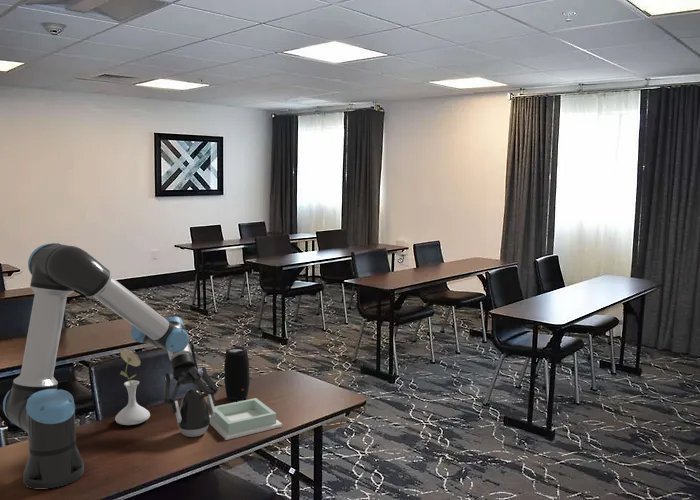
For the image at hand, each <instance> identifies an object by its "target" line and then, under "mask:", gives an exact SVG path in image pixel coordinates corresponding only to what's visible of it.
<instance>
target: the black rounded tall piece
mask: <svg viewBox="0 0 700 500" xmlns="http://www.w3.org/2000/svg"><path fill="white" fill-rule="evenodd" d="M208 395H209V393H204V392H203V393H202V392H201V390H199V389H197V388H191V389H188V390H187V391H186V392H185V393H184V395H183V398H182V400H181V402H180V406H179V410H180V414H181V418H182V420H181V422H180V423H178V422H177V426H178V428H179V432H181V434H182V435H183V436H185V437H187V438H197V437H200V436H202V435H203V434H205V433H206V432H207V430H208V428H209V425H210V409H209V405H208V402H207V400H206V398H207V397H208Z"/></svg>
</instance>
